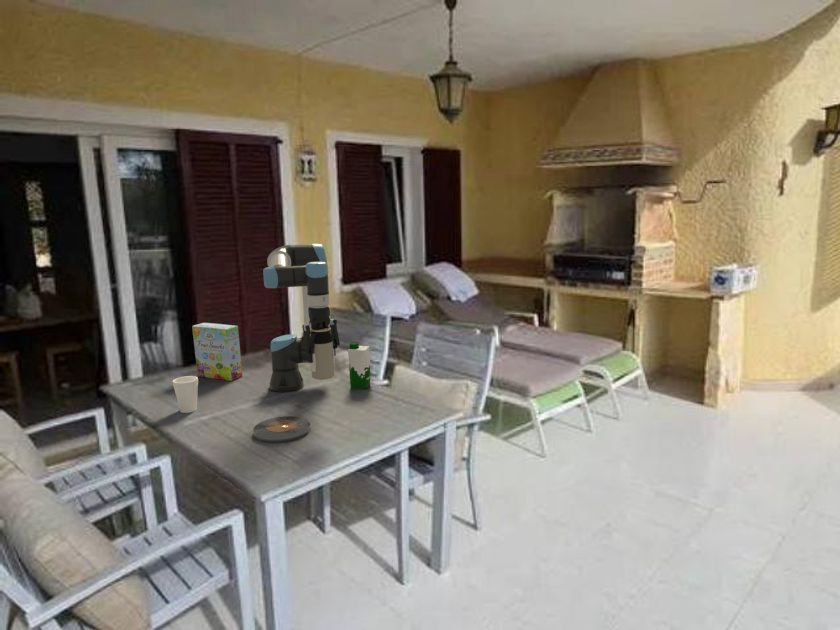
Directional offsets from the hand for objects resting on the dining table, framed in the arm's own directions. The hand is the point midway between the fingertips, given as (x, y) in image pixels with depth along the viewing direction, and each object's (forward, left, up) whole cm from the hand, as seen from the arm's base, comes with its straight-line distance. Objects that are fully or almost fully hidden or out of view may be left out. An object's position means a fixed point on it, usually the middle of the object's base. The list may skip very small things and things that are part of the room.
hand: (322, 368), depth 202 cm
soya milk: (-40, -27, -23) cm, 54 cm away
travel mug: (0, 0, -3) cm, 3 cm away
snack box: (-7, -92, -23) cm, 95 cm away
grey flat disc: (+12, -10, -23) cm, 28 cm away
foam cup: (+24, -59, -23) cm, 68 cm away
